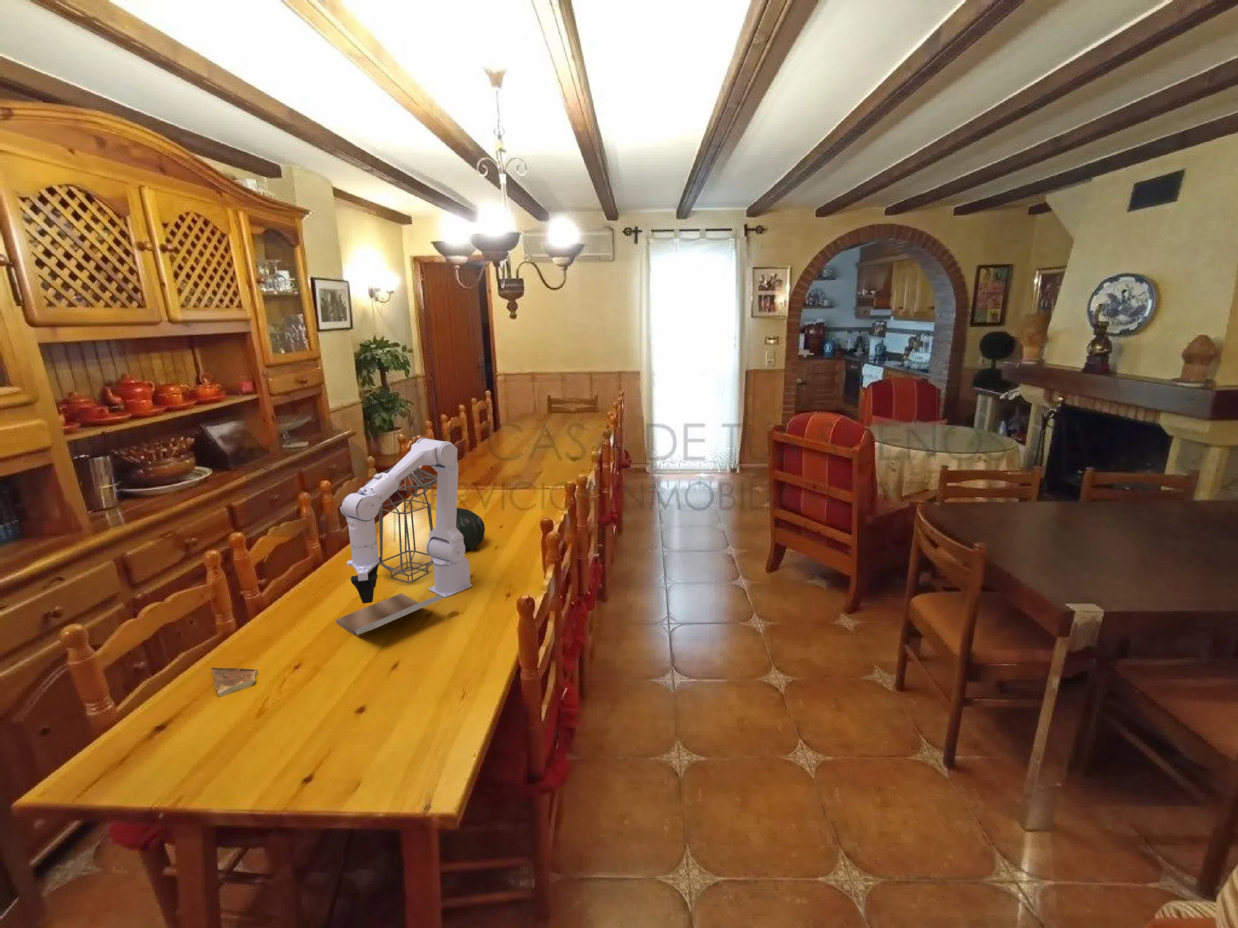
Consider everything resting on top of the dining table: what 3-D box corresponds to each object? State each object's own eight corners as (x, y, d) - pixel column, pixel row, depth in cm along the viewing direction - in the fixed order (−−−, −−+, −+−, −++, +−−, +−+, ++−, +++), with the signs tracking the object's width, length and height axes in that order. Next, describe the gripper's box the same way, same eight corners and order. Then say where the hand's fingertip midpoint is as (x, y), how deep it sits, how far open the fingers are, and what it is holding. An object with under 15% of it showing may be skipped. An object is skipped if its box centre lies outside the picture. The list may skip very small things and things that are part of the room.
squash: (498, 525, 194) (468, 493, 191) (484, 543, 179) (451, 509, 177) (470, 548, 197) (441, 517, 195) (454, 567, 183) (422, 534, 181)
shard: (212, 673, 120) (210, 666, 120) (253, 660, 125) (252, 653, 125) (217, 699, 112) (215, 691, 112) (261, 684, 117) (260, 677, 117)
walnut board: (401, 596, 154) (401, 593, 154) (420, 607, 149) (420, 603, 148) (336, 623, 140) (336, 619, 140) (354, 635, 135) (354, 631, 134)
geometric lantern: (370, 579, 164) (360, 464, 156) (412, 561, 178) (404, 454, 170) (408, 591, 157) (399, 471, 149) (449, 571, 170) (442, 460, 163)
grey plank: (422, 606, 148) (420, 602, 148) (442, 598, 141) (440, 594, 141) (356, 634, 134) (354, 630, 134) (375, 628, 127) (373, 623, 127)
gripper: (349, 533, 137) (355, 583, 140) (340, 557, 123) (347, 611, 127) (380, 530, 139) (385, 580, 142) (374, 553, 126) (380, 607, 129)
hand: (369, 594), depth 135 cm, fingers open, 7 cm apart
